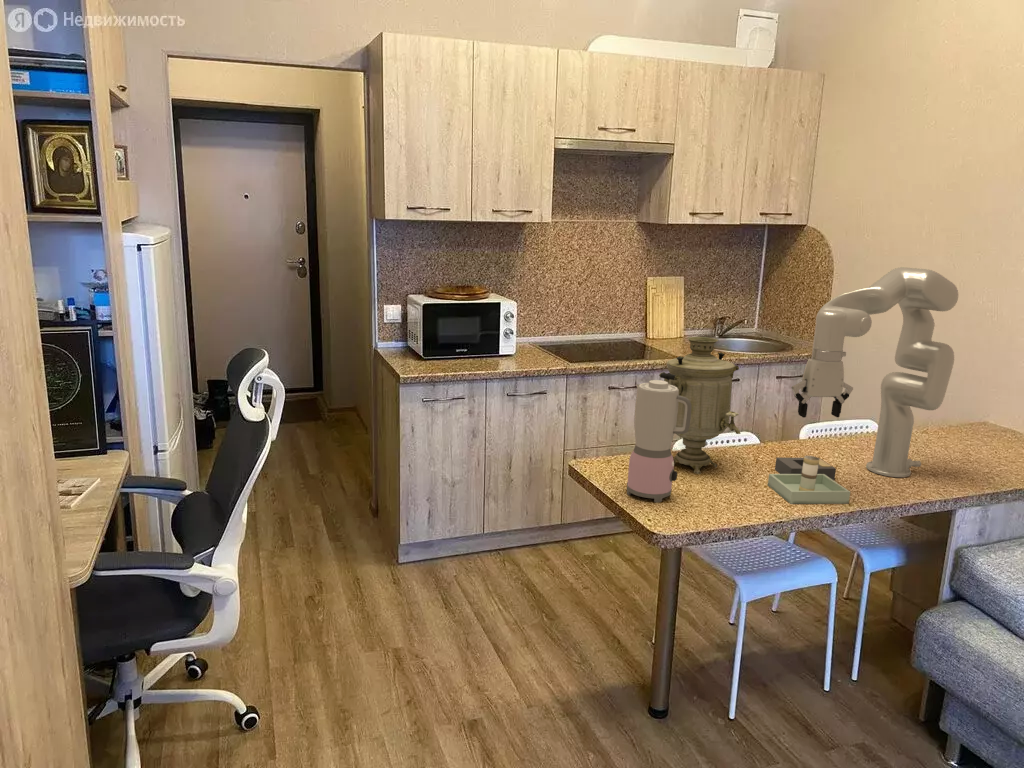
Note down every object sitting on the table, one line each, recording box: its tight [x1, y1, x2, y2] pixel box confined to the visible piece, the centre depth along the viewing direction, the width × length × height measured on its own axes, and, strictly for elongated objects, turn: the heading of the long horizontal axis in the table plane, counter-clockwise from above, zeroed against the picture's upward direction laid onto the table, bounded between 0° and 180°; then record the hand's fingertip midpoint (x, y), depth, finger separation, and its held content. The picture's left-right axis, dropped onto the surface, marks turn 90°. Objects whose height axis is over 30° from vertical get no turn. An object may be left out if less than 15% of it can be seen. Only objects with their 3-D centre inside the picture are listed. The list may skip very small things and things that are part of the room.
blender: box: [626, 379, 692, 503], centre depth 200 cm, size 16×12×32 cm
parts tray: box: [767, 473, 851, 505], centre depth 209 cm, size 17×14×4 cm
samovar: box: [658, 336, 741, 475], centre depth 222 cm, size 30×26×40 cm
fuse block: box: [774, 456, 837, 481], centre depth 224 cm, size 14×10×4 cm
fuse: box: [799, 455, 820, 491], centre depth 208 cm, size 4×4×10 cm
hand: (818, 416), depth 204 cm, fingers open, 9 cm apart
